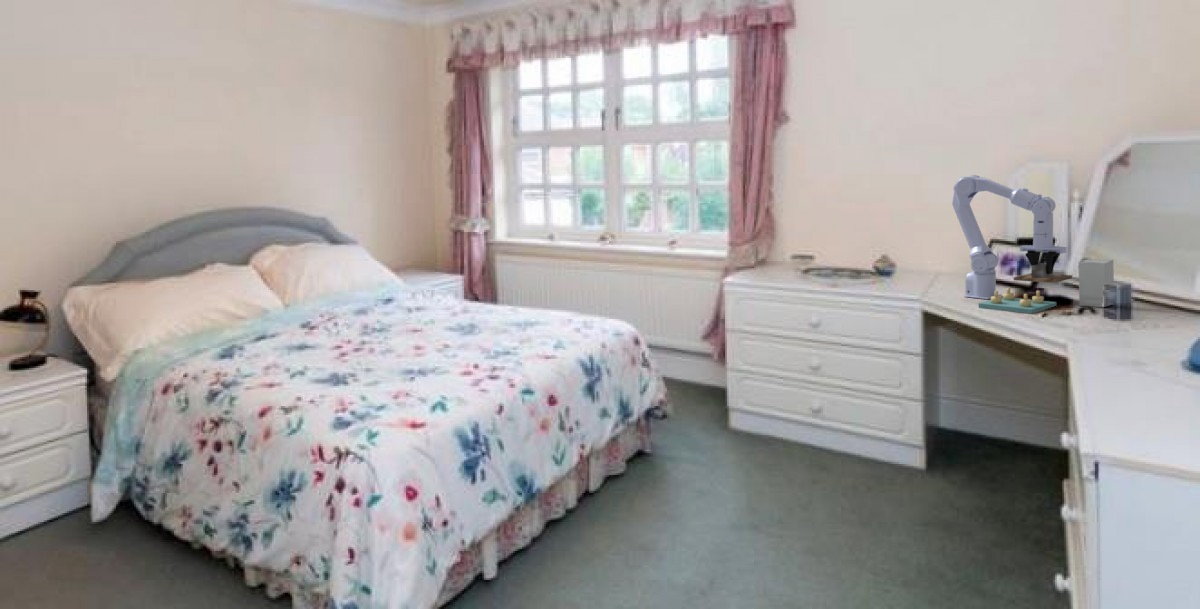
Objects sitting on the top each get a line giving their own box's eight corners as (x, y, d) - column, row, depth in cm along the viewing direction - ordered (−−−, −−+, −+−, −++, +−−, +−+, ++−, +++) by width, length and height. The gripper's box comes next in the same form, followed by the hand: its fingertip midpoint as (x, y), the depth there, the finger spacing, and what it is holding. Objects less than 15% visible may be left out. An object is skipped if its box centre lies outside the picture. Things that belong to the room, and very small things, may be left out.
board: (1013, 280, 257) (1013, 266, 256) (1030, 275, 262) (1030, 262, 261) (1055, 282, 245) (1055, 267, 244) (1071, 278, 250) (1071, 263, 249)
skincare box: (1114, 305, 238) (1115, 259, 236) (1105, 308, 235) (1107, 262, 232) (1085, 302, 245) (1087, 258, 242) (1077, 305, 242) (1078, 260, 239)
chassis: (978, 307, 252) (978, 291, 251) (1003, 300, 259) (1003, 285, 258) (1031, 313, 236) (1031, 297, 235) (1056, 306, 243) (1056, 290, 242)
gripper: (1072, 232, 246) (1071, 273, 249) (1028, 231, 259) (1028, 270, 261) (1060, 235, 243) (1059, 276, 245) (1016, 234, 255) (1016, 272, 258)
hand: (1042, 273), depth 253 cm, fingers closed on board, 4 cm apart
